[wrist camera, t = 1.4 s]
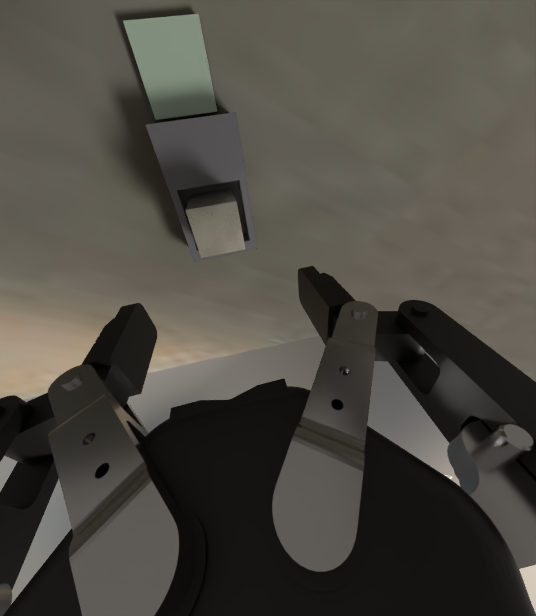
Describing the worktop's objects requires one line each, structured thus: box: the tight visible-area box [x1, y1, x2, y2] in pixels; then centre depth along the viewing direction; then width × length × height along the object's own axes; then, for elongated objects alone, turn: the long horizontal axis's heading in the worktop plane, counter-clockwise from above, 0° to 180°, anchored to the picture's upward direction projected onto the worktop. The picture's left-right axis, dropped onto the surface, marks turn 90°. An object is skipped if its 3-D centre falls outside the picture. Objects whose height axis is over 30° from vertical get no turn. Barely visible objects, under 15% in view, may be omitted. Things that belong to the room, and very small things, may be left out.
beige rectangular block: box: [186, 188, 245, 258], centre depth 24 cm, size 4×4×8 cm
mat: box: [123, 14, 217, 120], centre depth 20 cm, size 6×6×1 cm
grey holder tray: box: [146, 112, 257, 262], centre depth 25 cm, size 13×8×4 cm, turn 7°
